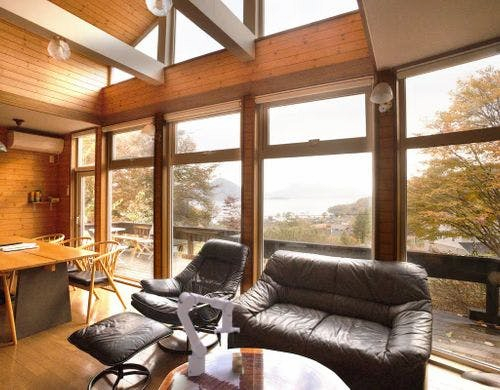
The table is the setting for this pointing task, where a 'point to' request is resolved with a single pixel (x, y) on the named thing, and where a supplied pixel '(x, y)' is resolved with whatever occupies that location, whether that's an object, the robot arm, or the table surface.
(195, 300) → the robot arm
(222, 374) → the table surface
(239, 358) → the maple cube
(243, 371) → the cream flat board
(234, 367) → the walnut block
